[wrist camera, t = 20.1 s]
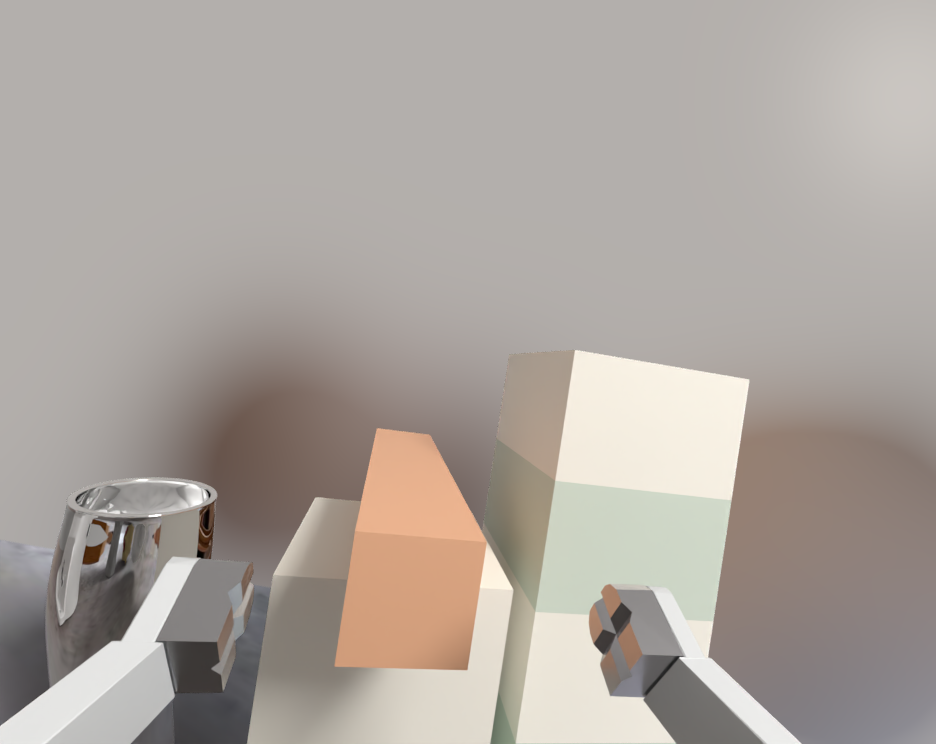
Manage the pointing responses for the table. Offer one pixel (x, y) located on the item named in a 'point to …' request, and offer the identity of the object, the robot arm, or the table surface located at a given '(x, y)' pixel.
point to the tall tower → (602, 525)
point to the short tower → (358, 688)
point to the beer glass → (119, 567)
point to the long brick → (411, 563)
